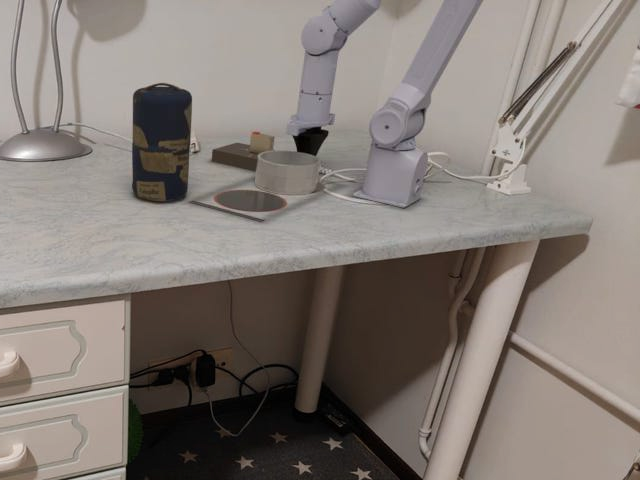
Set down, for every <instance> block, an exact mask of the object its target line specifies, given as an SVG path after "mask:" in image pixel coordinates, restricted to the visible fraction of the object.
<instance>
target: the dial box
mask: <svg viewBox="0 0 640 480" xmlns="http://www.w3.org/2000/svg"><path fill="white" fill-rule="evenodd" d="M249 150H250V144H246V143H242V142H233V143H231V144H226V145H223V146H220V147H215V148H213V149H212V150H211V163H215V164H220V165H225V166H229V167H232V168H238V169H242V170H246V171H250V172H255V173H256V165H257V156H258V155H259V154H258V153H253V152H249ZM273 151H277V149H276V150H275V149H273Z"/></svg>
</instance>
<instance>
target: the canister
mask: <svg viewBox="0 0 640 480" xmlns="http://www.w3.org/2000/svg"><path fill="white" fill-rule="evenodd" d="M192 116H193V96H192V93H191V92H190V91H188V90H187V89H184V88H181V87H179V86H176V85H174V84H171V83H168V82H158V83H154V84H151V85H148V86H145V87H140V88H138V89H136V90H135V91H134V92H133V94H132V144H131V157H132V158H131V166H132V169H131V170H132V183H131V189H132V192H133V194H134V195H135V196H137V197H139V198H141V199H144V200H148V201H155V202H168V201H174V200H178V199H181V198H183V197H184V196H186V194H187V192H188V187H189V174H190V173H189V170H190V151H191V150H190V148H191V140H192V139H191V136H192V119H193V118H192Z"/></svg>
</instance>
